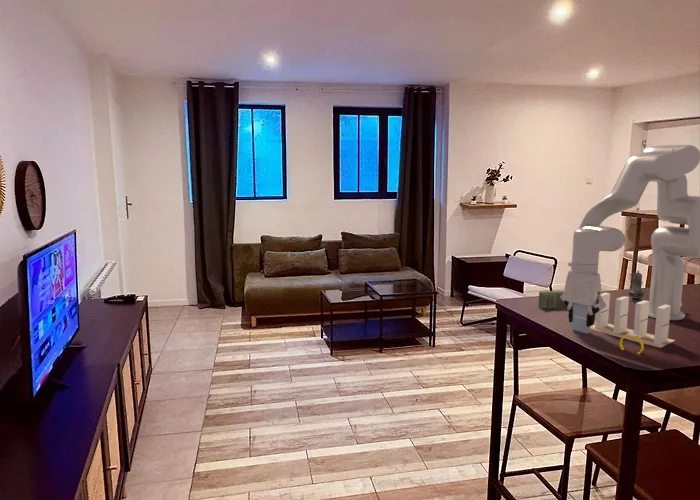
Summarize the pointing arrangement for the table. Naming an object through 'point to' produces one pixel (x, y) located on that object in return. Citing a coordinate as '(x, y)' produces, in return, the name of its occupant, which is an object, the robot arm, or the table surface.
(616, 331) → the domino
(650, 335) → the board
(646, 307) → the domino
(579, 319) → the domino
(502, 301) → the table surface
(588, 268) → the robot arm
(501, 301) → the table surface
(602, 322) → the domino
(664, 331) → the domino
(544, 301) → the handheld radio
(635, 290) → the dark grey tall piece
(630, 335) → the yellow wristwatch
